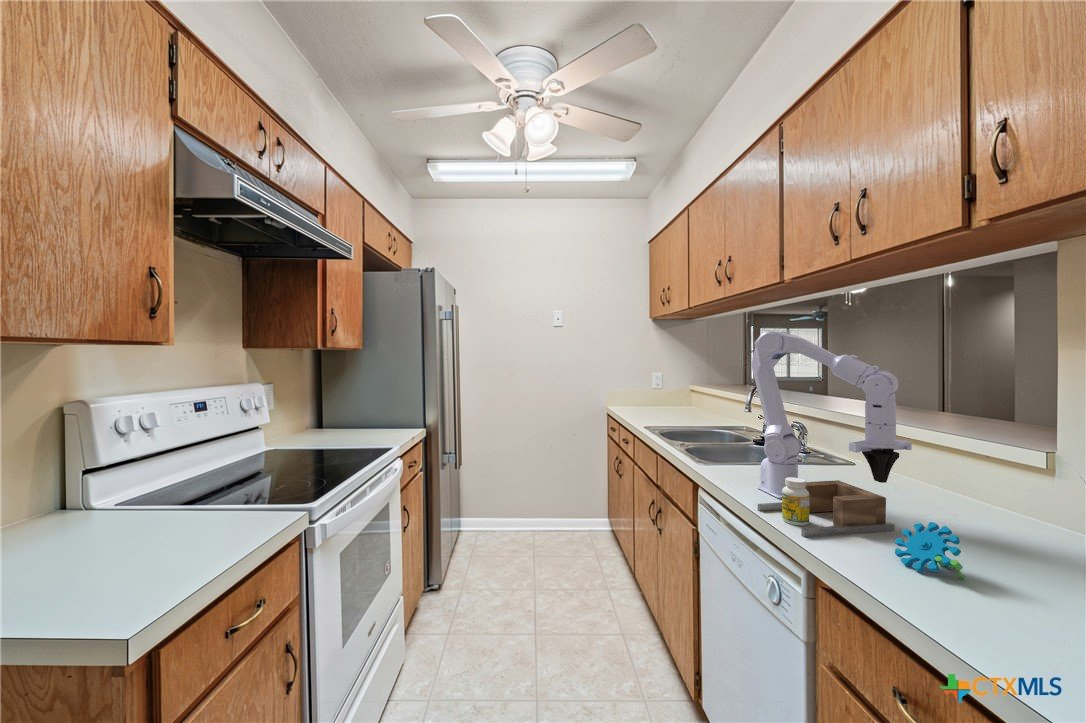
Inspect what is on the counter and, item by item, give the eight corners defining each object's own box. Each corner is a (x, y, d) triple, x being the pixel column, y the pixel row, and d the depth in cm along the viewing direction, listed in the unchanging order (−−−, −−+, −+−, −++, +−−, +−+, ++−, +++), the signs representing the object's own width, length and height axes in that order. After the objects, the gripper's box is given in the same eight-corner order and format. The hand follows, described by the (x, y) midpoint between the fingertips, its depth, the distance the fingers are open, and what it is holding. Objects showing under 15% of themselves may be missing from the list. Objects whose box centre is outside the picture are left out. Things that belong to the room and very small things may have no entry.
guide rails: (757, 509, 107) (757, 503, 107) (835, 505, 110) (835, 499, 110) (804, 537, 91) (804, 530, 91) (894, 530, 94) (894, 523, 94)
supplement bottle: (815, 524, 98) (815, 481, 98) (796, 527, 96) (796, 484, 96) (794, 515, 103) (794, 475, 103) (776, 518, 102) (776, 477, 101)
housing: (799, 508, 107) (799, 482, 107) (838, 506, 108) (838, 480, 108) (842, 530, 94) (842, 500, 94) (885, 527, 96) (886, 497, 95)
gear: (879, 544, 84) (923, 510, 83) (900, 564, 85) (943, 531, 83) (926, 582, 73) (977, 544, 72) (949, 605, 74) (1000, 568, 72)
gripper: (867, 427, 97) (867, 488, 98) (924, 425, 99) (924, 484, 99) (841, 422, 104) (841, 479, 105) (895, 420, 106) (895, 476, 106)
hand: (880, 481), depth 102 cm, fingers closed
